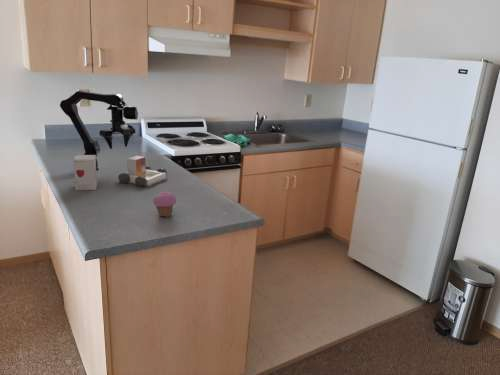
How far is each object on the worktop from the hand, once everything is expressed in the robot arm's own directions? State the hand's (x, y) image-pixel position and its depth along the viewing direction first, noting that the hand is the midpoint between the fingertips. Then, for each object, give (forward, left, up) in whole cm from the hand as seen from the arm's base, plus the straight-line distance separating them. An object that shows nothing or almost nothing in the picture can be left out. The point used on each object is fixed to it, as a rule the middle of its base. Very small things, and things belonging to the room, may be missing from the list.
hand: (118, 147), depth 216 cm
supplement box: (-28, -14, -13) cm, 34 cm away
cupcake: (-25, -66, -13) cm, 72 cm away
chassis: (-1, -22, -13) cm, 26 cm away
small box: (-3, -18, -12) cm, 22 cm away
